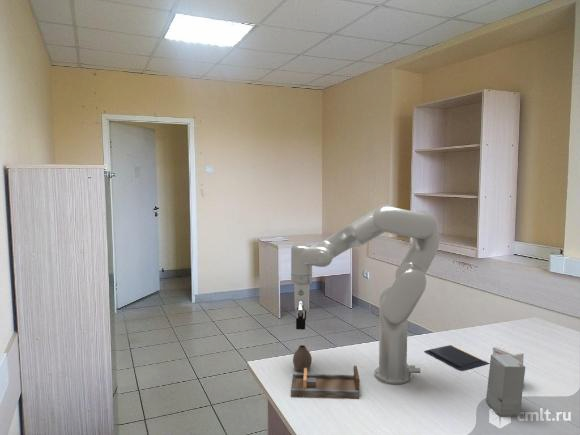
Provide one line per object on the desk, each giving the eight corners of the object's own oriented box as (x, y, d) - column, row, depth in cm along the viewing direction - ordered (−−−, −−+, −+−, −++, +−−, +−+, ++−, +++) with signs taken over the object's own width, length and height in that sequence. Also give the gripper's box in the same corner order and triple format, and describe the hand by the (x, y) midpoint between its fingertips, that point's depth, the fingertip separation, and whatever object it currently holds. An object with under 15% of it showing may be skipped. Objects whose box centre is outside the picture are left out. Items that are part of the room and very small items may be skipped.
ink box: (523, 386, 145) (525, 352, 144) (513, 390, 143) (515, 355, 141) (500, 376, 153) (502, 343, 151) (491, 379, 150) (492, 346, 149)
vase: (310, 374, 155) (310, 350, 154) (291, 372, 156) (291, 349, 156) (313, 366, 162) (313, 343, 161) (294, 364, 163) (294, 342, 162)
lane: (356, 380, 150) (356, 364, 149) (359, 398, 138) (359, 380, 137) (292, 379, 151) (292, 362, 151) (290, 397, 139) (290, 379, 139)
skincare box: (485, 402, 135) (487, 353, 134) (507, 401, 136) (509, 352, 134) (500, 417, 127) (502, 365, 125) (523, 416, 127) (526, 364, 126)
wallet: (422, 348, 174) (451, 342, 180) (422, 352, 174) (451, 346, 180) (459, 368, 156) (491, 361, 162) (459, 373, 156) (490, 365, 162)
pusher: (315, 378, 149) (315, 368, 149) (315, 391, 140) (315, 380, 140) (304, 378, 149) (304, 368, 149) (303, 391, 141) (303, 380, 140)
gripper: (311, 284, 147) (311, 333, 149) (312, 272, 164) (311, 316, 166) (289, 284, 147) (289, 332, 149) (292, 272, 164) (292, 316, 166)
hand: (301, 324), depth 157 cm, fingers open, 9 cm apart
